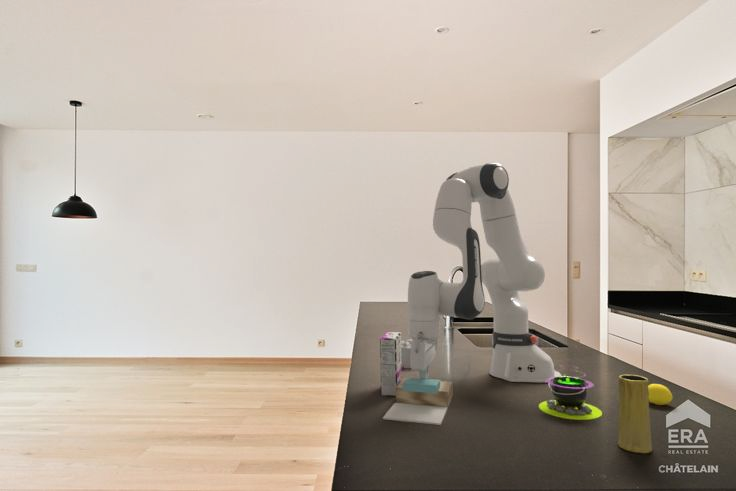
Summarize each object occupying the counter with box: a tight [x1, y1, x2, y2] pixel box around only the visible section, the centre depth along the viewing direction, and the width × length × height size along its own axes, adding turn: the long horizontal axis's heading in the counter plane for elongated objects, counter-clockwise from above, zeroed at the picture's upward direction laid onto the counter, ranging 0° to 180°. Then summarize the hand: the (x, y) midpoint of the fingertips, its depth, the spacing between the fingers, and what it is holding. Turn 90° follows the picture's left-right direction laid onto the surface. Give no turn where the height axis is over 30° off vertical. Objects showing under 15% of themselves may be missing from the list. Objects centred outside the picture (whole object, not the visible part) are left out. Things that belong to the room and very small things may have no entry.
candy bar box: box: [379, 331, 403, 397], centre depth 136 cm, size 11×5×16 cm, turn 168°
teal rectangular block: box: [403, 377, 441, 393], centre depth 123 cm, size 9×6×2 cm, turn 73°
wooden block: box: [395, 377, 454, 408], centre depth 128 cm, size 14×10×4 cm
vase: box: [617, 374, 653, 454], centre depth 95 cm, size 6×6×14 cm
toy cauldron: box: [538, 365, 603, 421], centre depth 118 cm, size 15×15×11 cm
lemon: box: [648, 383, 674, 406], centre depth 122 cm, size 7×5×5 cm
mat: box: [382, 402, 448, 426], centre depth 116 cm, size 14×12×1 cm
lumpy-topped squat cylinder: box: [401, 338, 412, 369], centre depth 169 cm, size 10×13×9 cm
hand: (423, 379), depth 128 cm, fingers closed
